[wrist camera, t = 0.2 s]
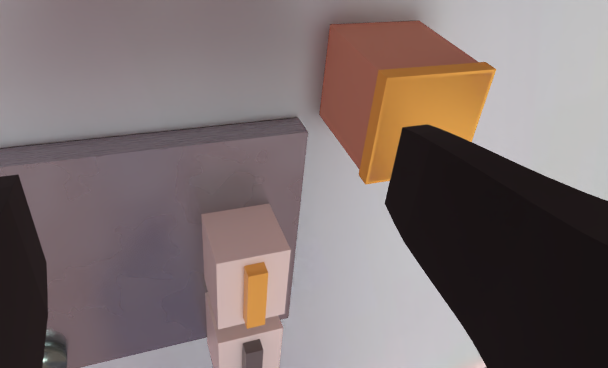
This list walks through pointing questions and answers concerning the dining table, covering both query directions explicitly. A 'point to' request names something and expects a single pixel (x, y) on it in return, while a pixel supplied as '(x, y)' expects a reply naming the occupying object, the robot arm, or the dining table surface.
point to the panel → (146, 227)
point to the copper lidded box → (397, 89)
